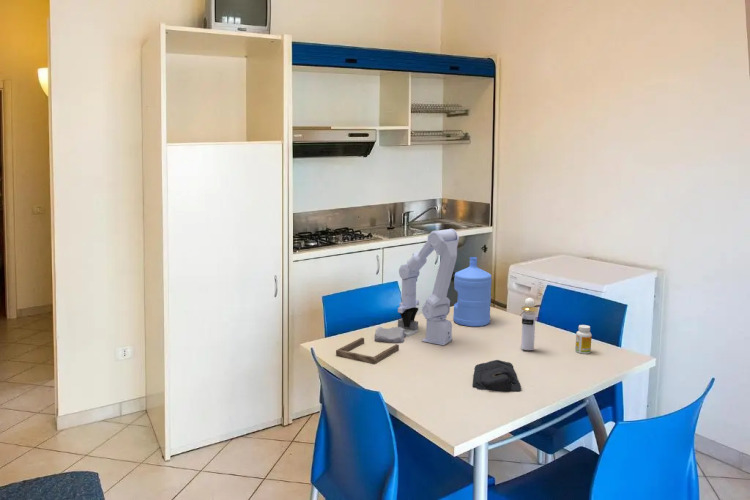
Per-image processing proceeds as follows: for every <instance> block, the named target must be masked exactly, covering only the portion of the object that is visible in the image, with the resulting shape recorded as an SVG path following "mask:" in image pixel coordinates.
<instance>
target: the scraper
mask: <svg viewBox="0 0 750 500" xmlns="http://www.w3.org/2000/svg"><path fill="white" fill-rule="evenodd" d="M397 327H401V328H403V329H404V330H405V336H404V337H407V338H409V337H410V336H413V335H414V334H417V333H418V332H419V321H417V320H414V321H412V320H410V326H409V327H404V324H403V320H402V318H399V319H398V320H397Z"/></svg>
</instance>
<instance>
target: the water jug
mask: <svg viewBox="0 0 750 500" xmlns="http://www.w3.org/2000/svg"><path fill="white" fill-rule="evenodd" d="M453 281H454V282H453V283H454V285H453V287H454V290H455V291H456V292H457V302H455V303H454V305H453V316H452V318H453V319H452V320H453V322H454V323H456V324H457V325H460V326H464V327H471V328H472V327H483V326H487V325H489V324H490V322H491V303H492V296H491V295H492V293H491V291H492V282H493V281H492V275H491V273H489V272H488V271H485V270H484V269H481V268H480V267H478V257H476V256H470V257H469V266H468V267H466V268H463V269H461V270H458V271H456V272H455V273H454V279H453Z"/></svg>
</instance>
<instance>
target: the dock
mask: <svg viewBox="0 0 750 500" xmlns="http://www.w3.org/2000/svg"><path fill="white" fill-rule="evenodd" d="M364 343H365V338H364V337H360V338H358V339H355V340H353V341H352V342H350V343H348V344H346V345H344V346H342V347H340V348H337V349H336V350H335V356H336V357H341V358H346V359H350V360H355V361H359V362H364V363H367V364H368V363H369V364H372V365H376V364H377V363H379V362H380V361H383V360H384V359H386V358H388V357H389V356H391V355H393V354H394V353H396V352H398V351H399V350H400V344H398V343H395V344H394V345H391V347H388V348H387V349H385V350H384V351H382V352H380V353H378V354H376V355H373V356H371V355H367V354H362V353H356V352H353V351H352V350H354V349H356V348H357V347H359V346H361V345H363V344H364Z"/></svg>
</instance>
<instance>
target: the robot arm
mask: <svg viewBox="0 0 750 500" xmlns="http://www.w3.org/2000/svg"><path fill="white" fill-rule="evenodd" d="M459 241H460V237H459V235H458V233H457V231H456V230H455V229H454V228H449V229H448V228H447V229H441V230H432V231H430V233H429V234H428V235H427V241H425V243H424V244H423V246H422V248H421V249H420V251H417V252H414V253H412V255H411V257H410V259H409V260H407V262H406V263H405V264H402V265H400V267H399V269H398V274H399V277H400V278H401V302H399V303H398V305H399V307H397V313H399V314H400V317H401V319H402V320H403V324H404V327H409V326H410V320H412V321H415V318H416V315H417V314H418V311H419V307H417V306H419V305H420V300H417V282H418V278H419V276H420V271H421V269H422V268H423V267H424V266H425V264H427V258H428V257H429V256H430V254H432V252H434V251H435V252H436V253H437V255H438V256H440V262H439V265H438V269H437V273H436V276H435V277H436V278H435V282H434V285H433V289H432V293H431V294H430V295H429V296H428V297H427V298H426V299H425V303H424V304H423V306H422V309H421V311H422V312H421V313H422V315H423V317H424V320H426V325H425V326H426V331H425V332H426V333H425V334H426V336H425V338H423V339H422V340H421V341H422V342H424V343H429V344H435V345H439V346H445V345H447V344H448V343H450V342H451V341H453V338H452V337H453V336H452V335H453V324H452V321H451V320H448V319H447V316H448V315H449V314H450V311H451V307H450V305H451V300H450V297H447V296H448V291H449V288H450V285H451V281H452V278H453V277H452V276H453V273H454V269H455V267H456V263H457V257H458V245H459Z"/></svg>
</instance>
